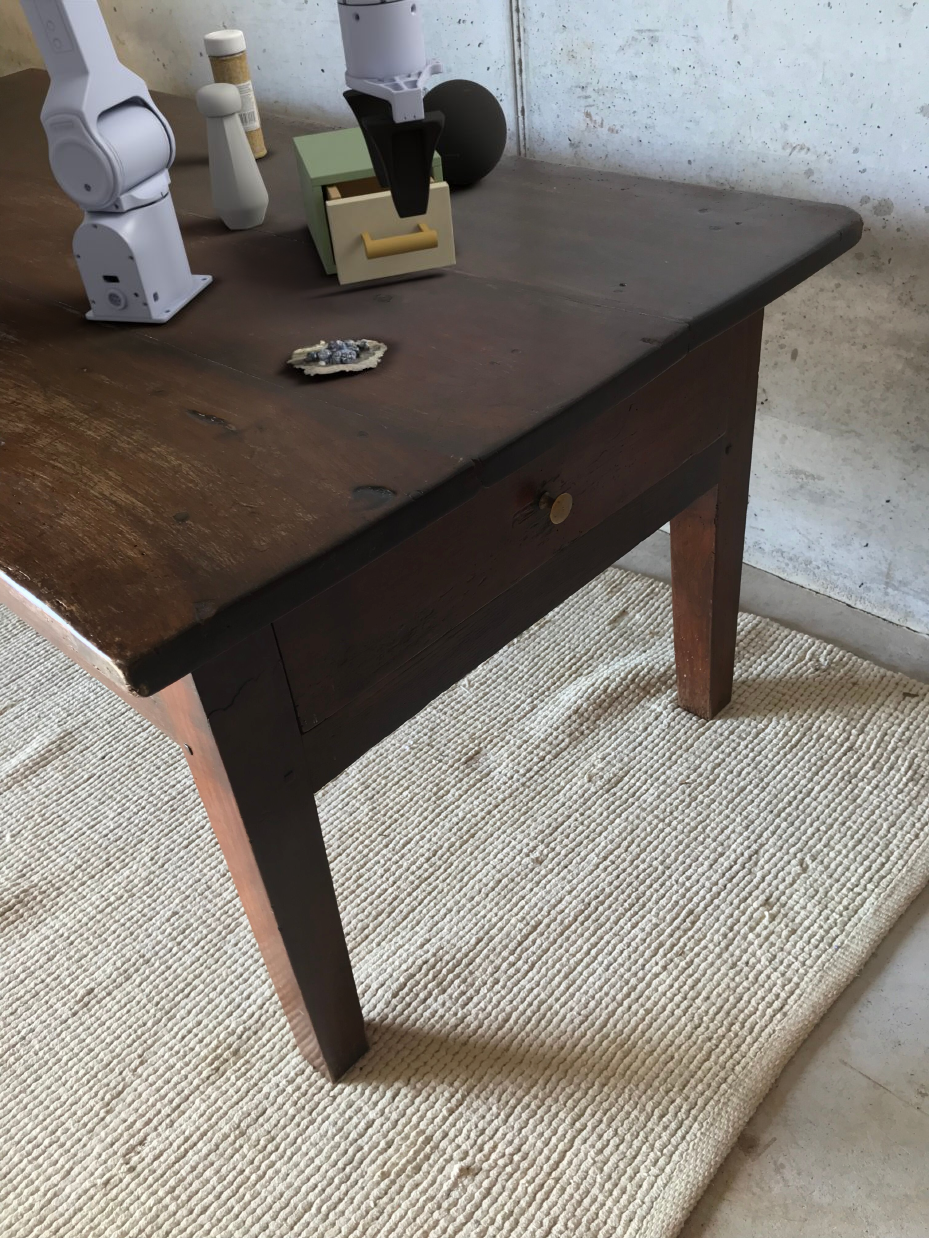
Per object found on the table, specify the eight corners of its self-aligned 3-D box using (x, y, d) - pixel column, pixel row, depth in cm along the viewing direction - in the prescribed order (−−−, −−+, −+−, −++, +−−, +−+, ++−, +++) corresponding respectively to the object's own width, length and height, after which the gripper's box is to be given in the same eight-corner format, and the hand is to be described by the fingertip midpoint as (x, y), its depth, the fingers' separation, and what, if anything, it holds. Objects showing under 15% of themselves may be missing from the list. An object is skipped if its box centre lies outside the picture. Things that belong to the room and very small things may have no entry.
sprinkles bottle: (265, 149, 127) (241, 26, 118) (268, 159, 124) (243, 33, 115) (229, 154, 127) (202, 32, 118) (230, 165, 123) (202, 39, 115)
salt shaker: (261, 232, 104) (231, 93, 96) (209, 233, 105) (175, 95, 97) (280, 212, 108) (253, 77, 100) (230, 213, 109) (199, 79, 101)
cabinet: (449, 253, 95) (440, 156, 90) (327, 275, 94) (310, 177, 88) (419, 208, 106) (409, 119, 100) (308, 227, 104) (292, 137, 98)
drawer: (467, 281, 88) (460, 200, 83) (348, 303, 86) (334, 221, 82) (425, 220, 100) (418, 146, 96) (321, 238, 99) (308, 164, 94)
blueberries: (274, 363, 81) (269, 341, 79) (359, 330, 84) (356, 308, 83) (319, 392, 76) (314, 368, 75) (406, 356, 80) (403, 333, 78)
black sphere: (399, 185, 112) (387, 84, 105) (471, 161, 116) (464, 64, 110) (454, 204, 106) (445, 99, 99) (528, 179, 110) (524, 76, 103)
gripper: (459, 6, 66) (475, 220, 74) (413, -25, 77) (432, 165, 85) (351, 21, 65) (380, 237, 73) (320, -12, 76) (348, 179, 84)
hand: (402, 199), depth 79 cm, fingers open, 7 cm apart
